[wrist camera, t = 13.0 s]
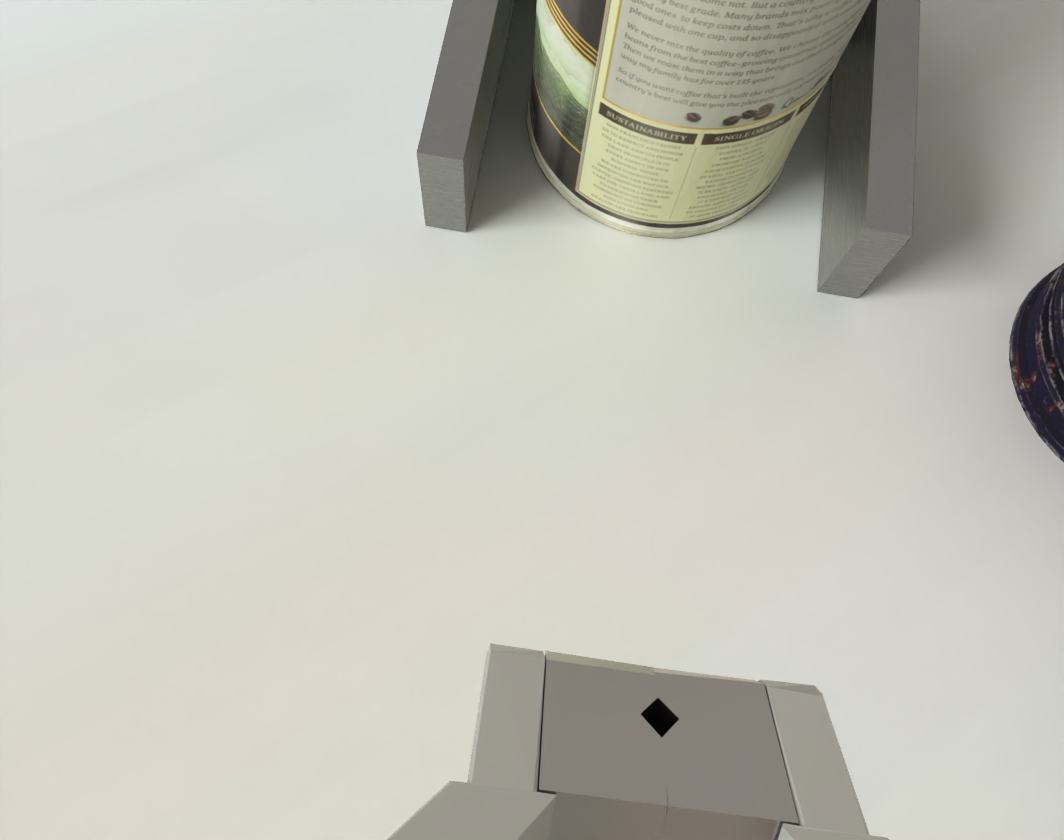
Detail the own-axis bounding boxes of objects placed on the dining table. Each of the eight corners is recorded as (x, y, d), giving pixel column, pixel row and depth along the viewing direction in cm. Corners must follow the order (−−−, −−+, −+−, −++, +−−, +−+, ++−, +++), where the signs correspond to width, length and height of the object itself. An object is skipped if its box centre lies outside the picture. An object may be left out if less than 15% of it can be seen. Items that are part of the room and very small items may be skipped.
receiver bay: (858, 298, 33) (912, 236, 29) (425, 225, 34) (416, 152, 29) (874, -1, 38) (923, -93, 34) (491, -64, 38) (492, -164, 34)
